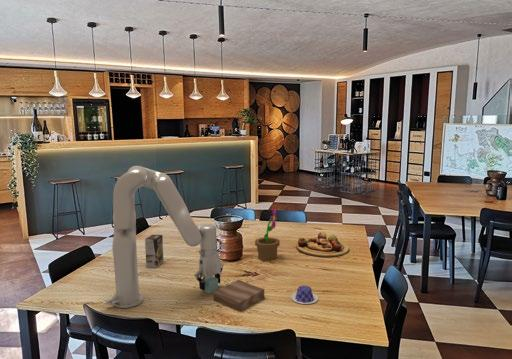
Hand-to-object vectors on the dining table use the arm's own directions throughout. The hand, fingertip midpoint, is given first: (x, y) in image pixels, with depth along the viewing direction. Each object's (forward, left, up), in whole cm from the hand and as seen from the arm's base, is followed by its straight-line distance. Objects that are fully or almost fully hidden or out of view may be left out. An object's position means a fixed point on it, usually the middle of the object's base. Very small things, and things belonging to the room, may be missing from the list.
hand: (210, 285), depth 177 cm
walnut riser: (+2, -17, -2) cm, 17 cm away
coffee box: (+2, +47, -2) cm, 47 cm away
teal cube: (0, 0, -2) cm, 2 cm away
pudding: (+21, -39, -2) cm, 44 cm away
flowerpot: (+49, +5, -2) cm, 49 cm away
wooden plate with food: (+83, -11, -3) cm, 84 cm away
